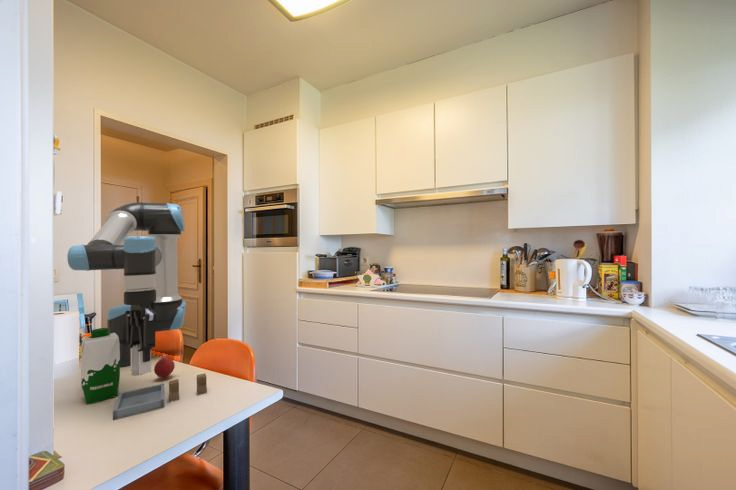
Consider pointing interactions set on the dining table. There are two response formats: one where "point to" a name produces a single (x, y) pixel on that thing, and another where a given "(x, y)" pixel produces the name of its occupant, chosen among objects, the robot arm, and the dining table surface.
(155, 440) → the dining table surface
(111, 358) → the milk carton
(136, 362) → the rook chess piece
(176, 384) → the walnut posts
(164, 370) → the red round fruit
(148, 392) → the tray
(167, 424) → the dining table surface
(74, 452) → the dining table surface
